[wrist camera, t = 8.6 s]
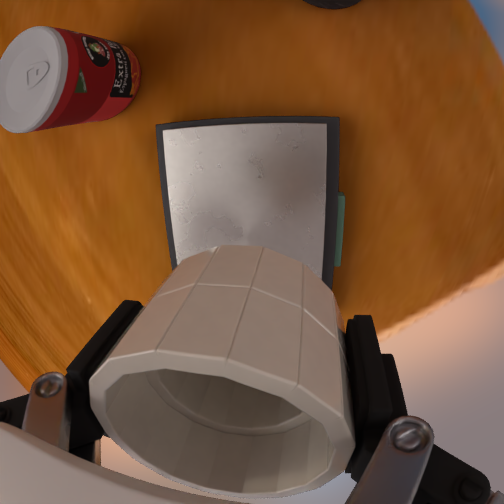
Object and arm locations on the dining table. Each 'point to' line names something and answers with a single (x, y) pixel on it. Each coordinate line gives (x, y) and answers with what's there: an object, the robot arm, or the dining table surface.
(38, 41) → the canned food
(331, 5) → the travel mug
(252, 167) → the platform
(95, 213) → the dining table surface
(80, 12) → the dining table surface
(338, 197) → the scale
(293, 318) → the white cup
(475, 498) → the robot arm
